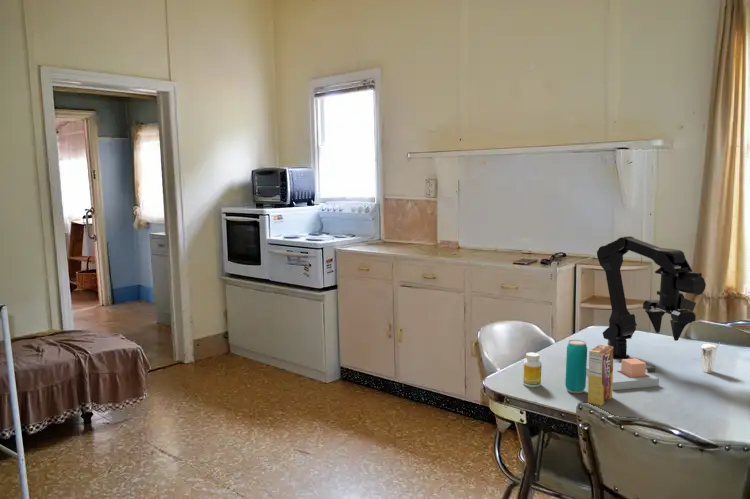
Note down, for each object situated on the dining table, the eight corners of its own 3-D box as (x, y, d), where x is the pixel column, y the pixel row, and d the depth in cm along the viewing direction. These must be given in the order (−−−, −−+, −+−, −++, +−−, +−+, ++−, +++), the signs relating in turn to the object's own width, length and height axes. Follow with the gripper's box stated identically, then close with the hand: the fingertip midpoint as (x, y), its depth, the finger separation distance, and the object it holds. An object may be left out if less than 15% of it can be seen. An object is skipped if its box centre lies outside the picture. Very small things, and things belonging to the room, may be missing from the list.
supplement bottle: (520, 381, 190) (521, 351, 188) (538, 381, 190) (539, 351, 188) (525, 387, 184) (526, 356, 183) (542, 387, 184) (544, 356, 183)
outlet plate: (582, 372, 197) (582, 365, 197) (626, 369, 201) (626, 362, 201) (611, 390, 182) (612, 382, 182) (658, 385, 185) (659, 378, 185)
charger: (620, 377, 192) (621, 359, 191) (635, 376, 193) (636, 358, 192) (630, 383, 187) (631, 364, 186) (645, 381, 188) (646, 363, 187)
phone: (620, 363, 207) (621, 359, 207) (635, 362, 208) (635, 358, 208) (639, 372, 198) (640, 368, 197) (654, 371, 199) (654, 367, 199)
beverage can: (585, 388, 183) (587, 340, 181) (585, 395, 178) (587, 345, 176) (565, 386, 185) (567, 338, 183) (564, 393, 180) (566, 343, 178)
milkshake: (720, 374, 196) (722, 344, 195) (702, 373, 197) (704, 343, 196) (715, 369, 200) (717, 340, 199) (697, 368, 201) (699, 339, 200)
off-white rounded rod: (644, 371, 199) (644, 368, 199) (648, 372, 198) (648, 369, 198) (638, 377, 193) (638, 374, 193) (642, 377, 193) (642, 374, 193)
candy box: (597, 393, 179) (600, 343, 177) (612, 397, 176) (615, 346, 174) (586, 402, 172) (588, 350, 170) (601, 406, 170) (604, 353, 168)
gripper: (713, 294, 187) (709, 343, 189) (673, 282, 205) (670, 328, 207) (680, 295, 185) (677, 345, 187) (643, 284, 203) (640, 329, 205)
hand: (666, 336), depth 197 cm, fingers open, 9 cm apart
